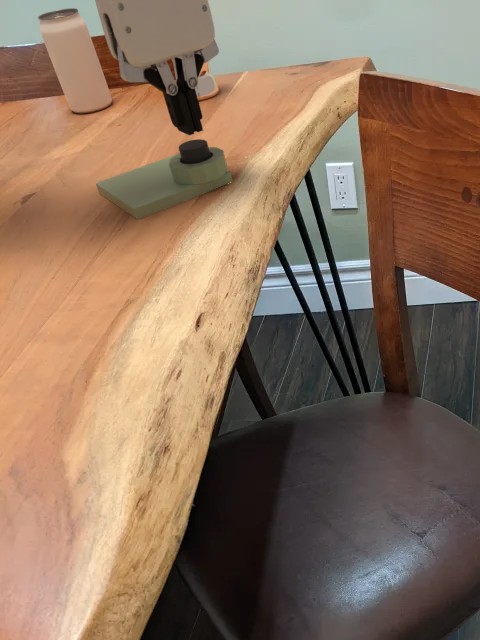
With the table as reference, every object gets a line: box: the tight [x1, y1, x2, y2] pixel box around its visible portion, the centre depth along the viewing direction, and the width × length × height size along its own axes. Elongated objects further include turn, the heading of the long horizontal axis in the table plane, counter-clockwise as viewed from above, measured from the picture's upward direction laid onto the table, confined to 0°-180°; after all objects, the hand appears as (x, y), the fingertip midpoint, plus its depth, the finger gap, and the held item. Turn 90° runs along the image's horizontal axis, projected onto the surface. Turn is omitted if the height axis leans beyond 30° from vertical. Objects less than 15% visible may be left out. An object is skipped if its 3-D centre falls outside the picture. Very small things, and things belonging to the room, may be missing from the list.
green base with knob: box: [95, 146, 234, 220], centre depth 79 cm, size 13×12×3 cm
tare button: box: [178, 138, 211, 164], centre depth 77 cm, size 3×3×2 cm
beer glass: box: [169, 58, 220, 101], centre depth 99 cm, size 7×7×15 cm
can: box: [37, 7, 113, 115], centre depth 102 cm, size 6×6×12 cm
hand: (190, 130), depth 75 cm, fingers closed
